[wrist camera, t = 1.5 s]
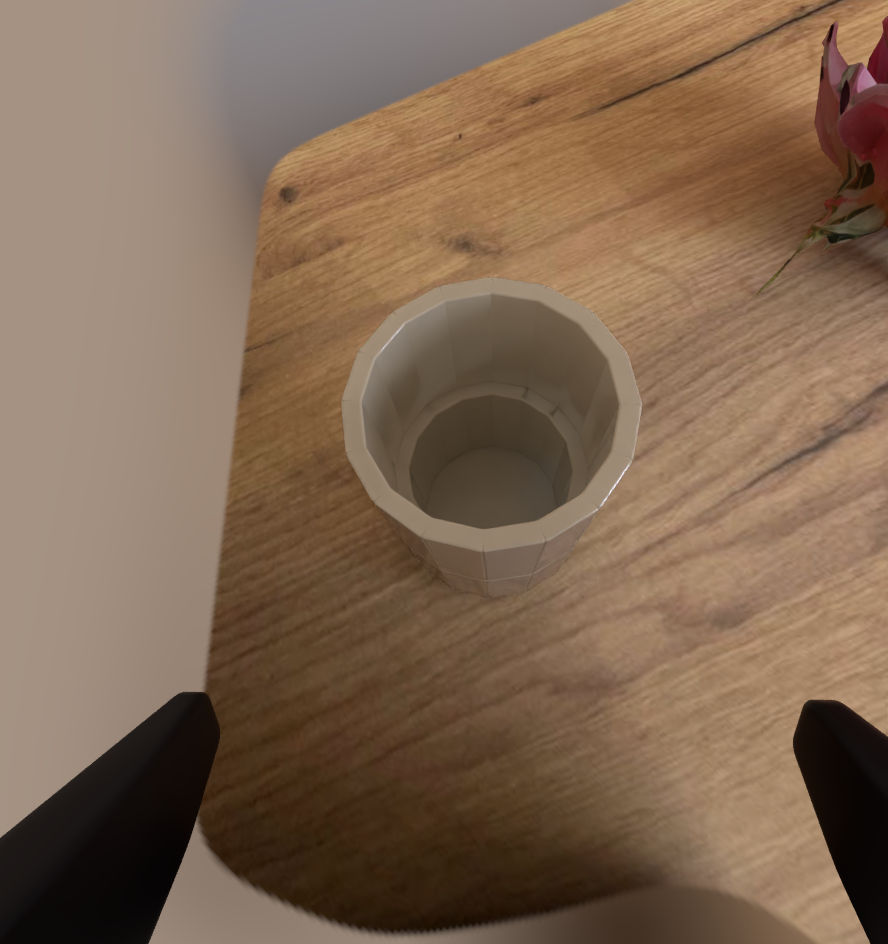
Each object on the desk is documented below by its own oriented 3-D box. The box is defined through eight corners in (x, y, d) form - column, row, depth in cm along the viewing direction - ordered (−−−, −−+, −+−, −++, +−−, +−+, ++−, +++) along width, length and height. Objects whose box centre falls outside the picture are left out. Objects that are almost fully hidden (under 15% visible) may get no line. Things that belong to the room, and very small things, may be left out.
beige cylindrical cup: (513, 635, 21) (527, 615, 11) (372, 530, 23) (283, 436, 13) (612, 491, 22) (697, 367, 13) (472, 402, 24) (456, 235, 14)
